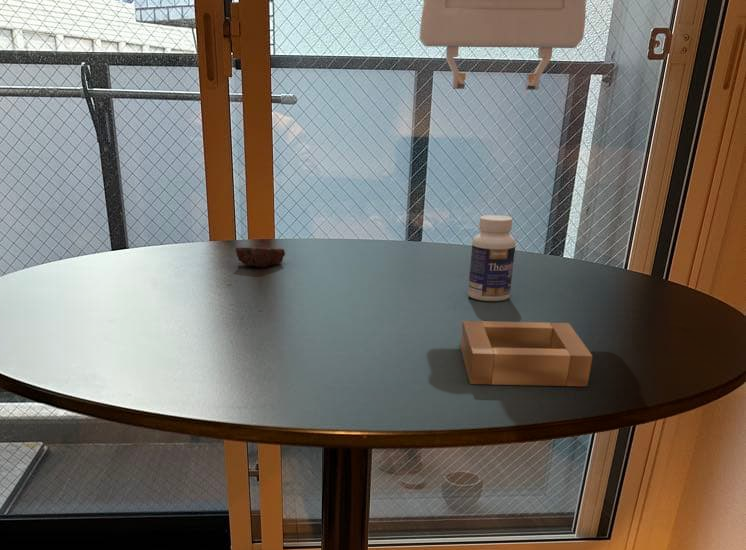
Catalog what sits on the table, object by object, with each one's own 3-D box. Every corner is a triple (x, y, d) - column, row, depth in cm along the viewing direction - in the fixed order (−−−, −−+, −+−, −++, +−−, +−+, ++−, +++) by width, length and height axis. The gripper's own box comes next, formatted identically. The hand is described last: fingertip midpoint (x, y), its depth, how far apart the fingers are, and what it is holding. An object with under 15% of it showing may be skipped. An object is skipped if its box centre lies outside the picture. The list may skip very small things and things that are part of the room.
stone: (228, 267, 118) (227, 244, 117) (251, 258, 124) (251, 237, 123) (268, 271, 116) (267, 249, 115) (290, 262, 122) (290, 240, 120)
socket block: (564, 351, 85) (569, 322, 83) (587, 386, 75) (592, 355, 74) (460, 348, 85) (462, 320, 84) (469, 384, 76) (472, 353, 74)
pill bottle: (487, 304, 101) (495, 222, 96) (459, 295, 105) (465, 216, 100) (518, 298, 104) (527, 218, 99) (489, 290, 108) (497, 212, 103)
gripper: (421, -47, 94) (415, 88, 101) (597, -45, 93) (578, 91, 100) (419, -41, 100) (413, 87, 107) (586, -39, 99) (568, 89, 106)
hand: (495, 89), depth 104 cm, fingers open, 8 cm apart
